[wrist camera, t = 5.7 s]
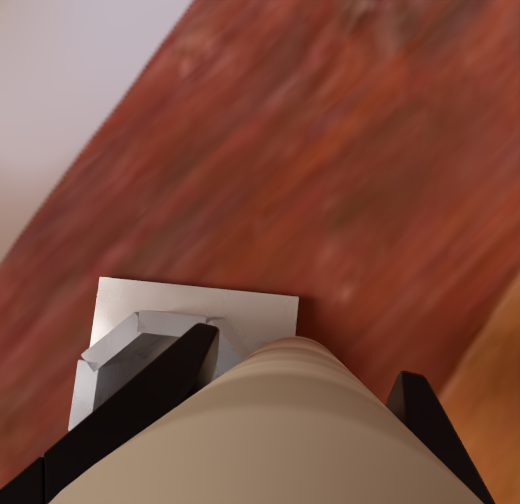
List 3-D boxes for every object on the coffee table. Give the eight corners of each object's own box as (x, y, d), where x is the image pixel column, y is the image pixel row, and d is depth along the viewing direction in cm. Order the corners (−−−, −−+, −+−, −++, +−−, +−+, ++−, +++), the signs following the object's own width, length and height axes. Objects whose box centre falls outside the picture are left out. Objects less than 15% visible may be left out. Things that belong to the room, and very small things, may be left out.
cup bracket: (279, 506, 21) (273, 557, 17) (78, 478, 22) (22, 520, 18) (298, 297, 22) (298, 293, 18) (106, 278, 23) (60, 269, 19)
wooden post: (351, 439, 15) (690, 1212, 2) (245, 445, 15) (-69, 1180, 2) (340, 332, 15) (562, 395, 2) (238, 339, 15) (-53, 432, 3)
